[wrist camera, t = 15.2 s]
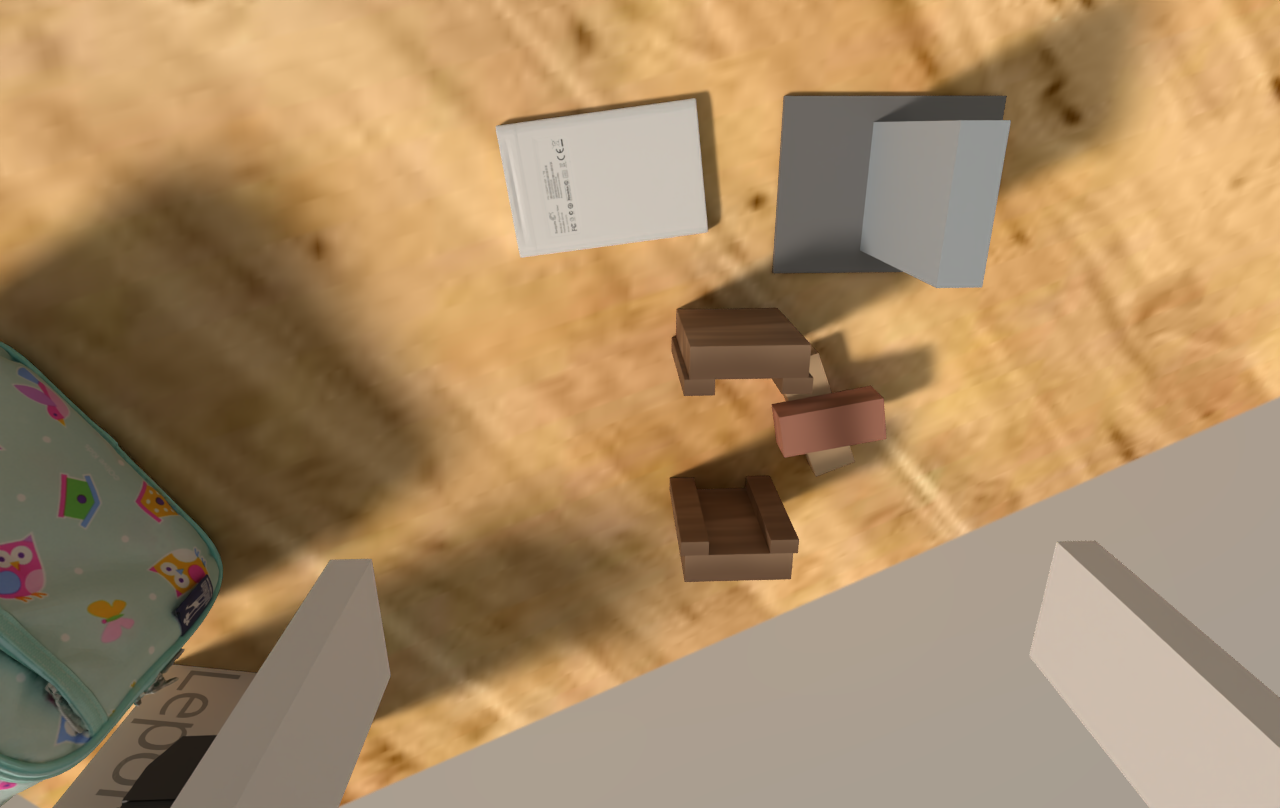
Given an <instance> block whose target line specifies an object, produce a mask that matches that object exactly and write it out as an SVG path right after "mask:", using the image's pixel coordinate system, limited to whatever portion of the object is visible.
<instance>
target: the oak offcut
mask: <svg viewBox="0 0 1280 808" xmlns="http://www.w3.org/2000/svg"><path fill="white" fill-rule="evenodd" d="M809 373H810V374H811V375H812V376H813V378H814V379H813V390H812V394H783V395H784V398H785V401H786V402H787V401H792V400H797V399H803V398H808V397H813V396H819V395H824V394H829V393H832V392H831V389H830V386H829V383H828V380H827V377H826V374H825V371H824V368H823V365H822V362H821V359H820V356H819V353H818V352H817V351H816V350H815V349H814V347H813V346H812V345H811V355H810V367H809ZM805 455H806V458H807V461H808V464H809V466H810V467H811V469H812V471H813V472H814V474H815V476H819V475H822V474H824V473H827V472H830V471H832V470H835V469H837V468H840V467H843V466H845V465H848V464H851V463H853V462H855V460H854V457H853V454H852V451H851V448H850V446H845V447H840V448H834V449H829V450H823V451H818V452H812V453H807V454H805Z"/></svg>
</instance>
